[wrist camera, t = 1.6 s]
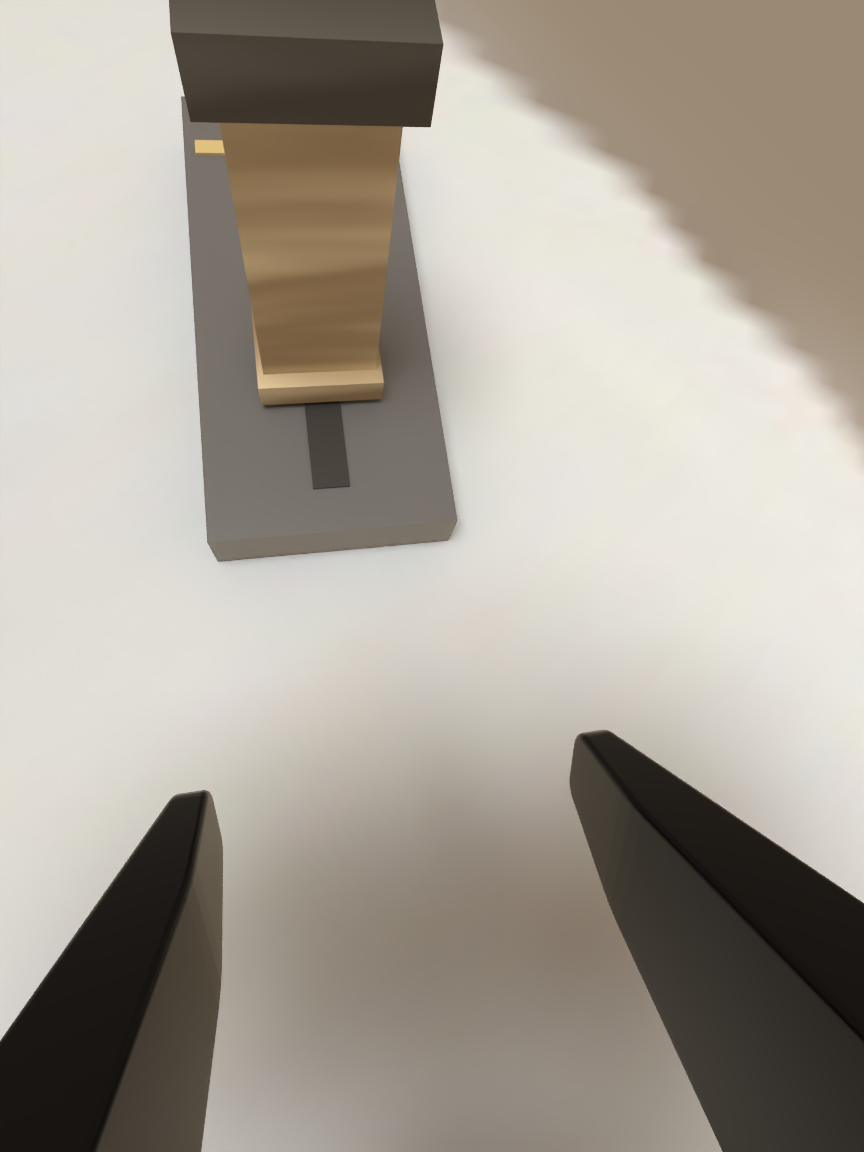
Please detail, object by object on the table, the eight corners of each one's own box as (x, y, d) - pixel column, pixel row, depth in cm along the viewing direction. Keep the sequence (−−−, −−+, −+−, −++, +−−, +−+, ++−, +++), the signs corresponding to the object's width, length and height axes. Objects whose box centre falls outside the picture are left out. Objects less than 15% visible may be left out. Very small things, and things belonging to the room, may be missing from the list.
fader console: (447, 540, 24) (457, 519, 22) (217, 561, 23) (206, 541, 21) (385, 146, 29) (389, 100, 27) (192, 143, 27) (180, 93, 25)
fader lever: (390, 398, 23) (445, 53, 12) (252, 406, 22) (171, 40, 11) (379, 323, 23) (421, -69, 12) (245, 327, 23) (164, -87, 12)
